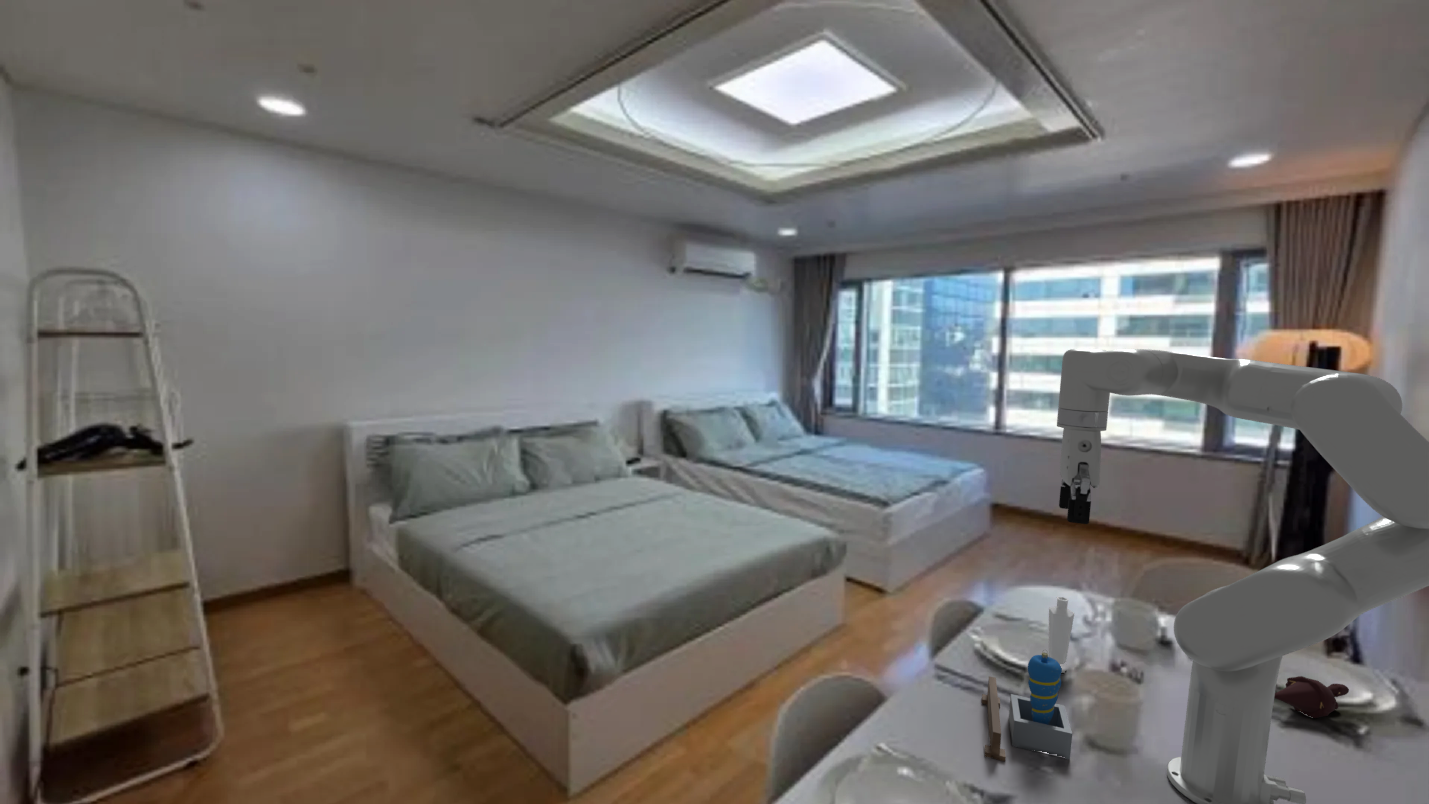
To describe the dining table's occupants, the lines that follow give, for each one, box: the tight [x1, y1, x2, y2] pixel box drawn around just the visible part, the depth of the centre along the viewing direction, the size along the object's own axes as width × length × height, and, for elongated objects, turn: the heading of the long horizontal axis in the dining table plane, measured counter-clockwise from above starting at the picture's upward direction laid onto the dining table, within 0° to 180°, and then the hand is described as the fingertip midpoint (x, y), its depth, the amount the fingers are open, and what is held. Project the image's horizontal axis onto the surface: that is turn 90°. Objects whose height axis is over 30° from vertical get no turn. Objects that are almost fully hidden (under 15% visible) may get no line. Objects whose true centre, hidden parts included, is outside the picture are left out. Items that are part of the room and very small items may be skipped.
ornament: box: [1027, 649, 1062, 725], centre depth 104 cm, size 5×5×15 cm
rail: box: [981, 675, 1007, 763], centre depth 108 cm, size 3×18×4 cm, turn 158°
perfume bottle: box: [1048, 596, 1075, 664], centre depth 127 cm, size 5×4×15 cm
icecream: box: [1274, 675, 1350, 719], centre depth 114 cm, size 7×7×15 cm
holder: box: [1008, 693, 1073, 761], centre depth 105 cm, size 8×8×4 cm
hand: (1073, 515), depth 110 cm, fingers open, 9 cm apart
